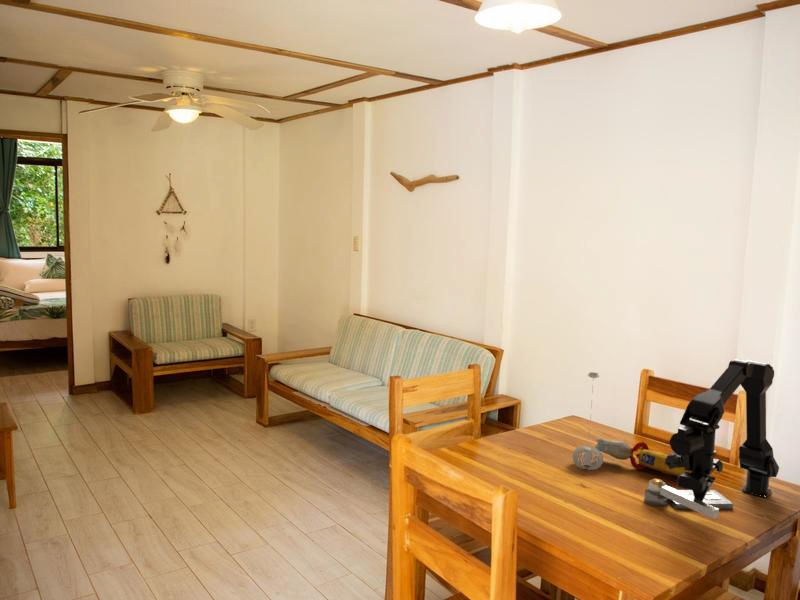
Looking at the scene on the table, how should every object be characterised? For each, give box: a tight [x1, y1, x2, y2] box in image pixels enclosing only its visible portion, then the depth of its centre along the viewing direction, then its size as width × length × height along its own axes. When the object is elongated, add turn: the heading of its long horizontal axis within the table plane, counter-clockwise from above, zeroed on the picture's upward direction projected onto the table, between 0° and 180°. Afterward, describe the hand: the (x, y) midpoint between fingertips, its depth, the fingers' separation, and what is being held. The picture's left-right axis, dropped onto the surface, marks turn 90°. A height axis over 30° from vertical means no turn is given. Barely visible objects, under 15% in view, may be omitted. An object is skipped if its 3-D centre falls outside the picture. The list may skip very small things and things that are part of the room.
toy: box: [594, 437, 691, 478], centre depth 204 cm, size 9×13×30 cm
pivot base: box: [643, 488, 669, 508], centre depth 180 cm, size 6×6×3 cm
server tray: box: [668, 489, 734, 510], centre depth 181 cm, size 16×9×2 cm, turn 94°
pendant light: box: [571, 371, 604, 471], centre depth 203 cm, size 9×9×30 cm
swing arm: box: [647, 478, 720, 520], centre depth 173 cm, size 20×4×3 cm, turn 29°
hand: (698, 504), depth 171 cm, fingers closed
